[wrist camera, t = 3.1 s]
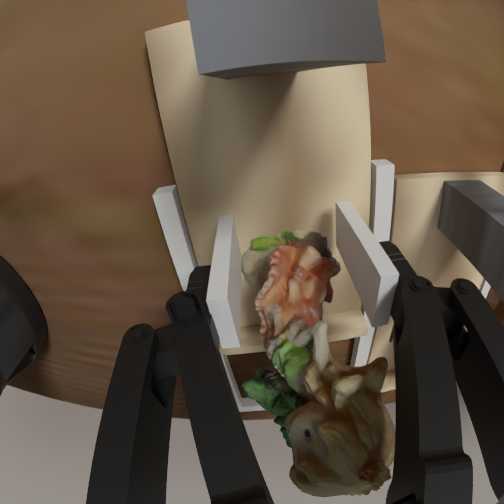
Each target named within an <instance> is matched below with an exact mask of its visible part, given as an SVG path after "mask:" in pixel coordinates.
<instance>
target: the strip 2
mask: <svg viewBox="0 0 504 504" xmlns="http://www.w3.org/2000/svg"><path fill="white" fill-rule="evenodd" d="M389 241H390V242H391V243H393V244H395V245H396V246H397V247H398V248H399V250H400V251H401V254H403V255H404V257H405V259H406V260H407V261H408V262H409V264H410V265H411V267H412V268H413V270H414V271H415V272H416V274H417V275H418V276H422V277H424V278H427V279H428V280H429V281H431V283H432V284H433V286H434V287H447V288H450V285H451V282H452V281H453V280H455V279H457V278H464V279H468V280H470V281H471V282H473V283H474V284H475V285H476V286H477V288H478V289H480V286H481V284H482V281H483V278H484V279H485V280H486V281H487V282H488V284H489V285H490V286H491V287H492V289H493V290H494V291H495V292H496V294H497V295H498V296H499V297H500V299H501V300H502V301H503V302H504V173H503V172H444V173H417V174H398V175H394V189H393V204H392V217H391V227H390V237H389ZM393 324H394V321H393V319H392V317H391V315H390V319H389V323H388V325H383V326H378V327H375V329H374V334H373V338H372V343H371V347H370V351H369V355H368V359H367V363H366V364H369V363H371V362H372V361H374V360H375V359H376V358H378V357H385V358H386V359H387V361H388V370H387V373H386V377H385V381H384V384H383V387H382V389H381V393H382V392H385V391H389V390H393V389H396V386H395V362H394V346H393V339H392V342H389V339H390V335H391V332H392V328H393Z"/></svg>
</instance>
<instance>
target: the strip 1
mask: <svg viewBox="0 0 504 504" xmlns="http://www.w3.org/2000/svg"><path fill="white" fill-rule="evenodd" d="M186 3H187V9H188V15H189V20H187V21H182V22H178V23H174V24H170V25H167V26H163V27H160V28H156V29H153V30H149V31H146V32H145V37H146V43H147V49H148V54H149V60H150V66H151V71H152V76H153V82H154V87H155V92H156V97H157V102H158V107H159V112H160V116H161V121H162V126H163V130H164V135H165V139H166V144H167V148H168V152H169V156H170V161H171V165H172V169H173V173H174V177H175V181H176V185H177V189H178V193H179V197H180V201H181V205H182V209H183V212H184V216H185V220H186V224H187V227H188V231H189V235H190V238H191V242H192V245H193V249H194V252H195V256H196V259H197V263H198V266H206V265H211V264H212V257H213V251H214V245H215V239H216V233H217V227H218V221H219V217H221V216H227V215H233V216H234V222H235V227H236V232H237V237H238V242H239V247H240V253H241V257H242V255H243V253H244V252H245V251H246V250H247V249H248V248H249V247H250V246H251V240H252V239H256V238H259V237H269V236H274V235H278V234H279V233H280V232H283V231H296V230H301V231H314V232H318V233H320V234H321V235H322V237H327V240H328V244H327V247H328V248H329V250H330V251H331V252H332V257H334V258H336V260H337V262H339V263H340V267H341V270H340V272H339V273H338V274H337V275H336V276H334V277H332V278H331V279H330V282H331V286H332V289H333V298H332V302H331V303H328V302H326V301H323V305H322V308H323V318H322V321H325V322H326V323H327V325H328V327H327V335H328V342H333V341H339V340H345V339H350V338H355V337H360V336H365V335H367V332H368V326H367V324H366V321H365V319H364V316H363V314H362V311H361V303H362V302H361V300H360V298H359V295H358V293H357V291H356V288H355V286H354V284H353V281H352V279H351V277H350V275H349V272H348V270H347V268H346V266H345V264H344V261H343V259H342V257H341V255H340V253H339V251H338V249H337V246H336V202H338V201H348V200H349V201H350V203H351V204H352V205H353V207H354V208H355V210H356V211H357V212H358V214H359V215H360V216H361V218H362V219H363V221H364V222H365V223H366V225H367V226H368V228H369V216H370V190H371V138H370V112H369V96H368V83H367V72H366V63H381V62H386V60H385V51H384V43H383V35H382V29H381V22H380V16H379V10H378V5H377V0H186ZM256 295H257V293H256V292H253V290H252V289H251V288H250V286H249V283H248V282H247V281H246V278H245V275H244V273H243V272H242V268H241V327H240V347H235V348H224V349H222V347H221V344H220V343H219V351H220V354H221V356H222V355H234V354H245V353H255V352H264V351H266V350H265V348H264V343H263V342H262V341H261V339H260V338H261V335H262V334H261V332H260V329H261V318H260V316H259V315H258V311H257V310H256V309H255V308H254V300H255V297H256Z"/></svg>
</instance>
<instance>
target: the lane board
mask: <svg viewBox="0 0 504 504" xmlns="http://www.w3.org/2000/svg"><path fill="white" fill-rule="evenodd" d="M394 166H395V165H394V164H392V163H391V162H389V161H388V160H386V159H382V160H371V190H370V216H369V229H370V230H371V232H372V233H373V235H374V236H375V238H376V239H377V241H378V242H382V241H389V237H390V227H391V217H392V204H393V189H394ZM503 173H504V169H503ZM152 196H153V199H154V203H155V206H156V209H157V213H158V216H159V219H160V223H161V226H162V229H163V232H164V235H165V239H166V242H167V245H168V248H169V251H170V254H171V257H172V260H173V263H174V266H175V269H176V272H177V274H178V277H179V280H180V283H181V286H182V289H183V291H186V289H187V285H188V280H189V276H190V273H191V272H192V271H193V270H194V268H195V267H198V263H197V259H196V256H195V252H194V249H193V245H192V242H191V238H190V235H189V231H188V227H187V224H186V220H185V216H184V212H183V209H182V205H181V201H180V197H179V193H178V189H177V185H171V186H166V187H161V188H157V190H156V191H155V193H154V194H153V195H152ZM490 287H491V286H490V285H489V284H488V282H487V281H486V280H485V279H484V278H483V281H482V284H481V286H480V289H479V290H480V292H481V293H482V295H483V296H484V297H485V299H486V297H487V294H488V292H489V289H490ZM361 311H362V314H363V316H364V319H365V321H366V324H367V326H368V332H367V335H365V336H360V337H355V340H354V346H353V352H352V358H351V363H350V366H353V367H360V366H364V365H366V363H367V359H368V355H369V351H370V347H371V343H372V338H373V334H374V329H375V327H373V328H372V326H371V324H370V321H369V319H368V317H367V314H366V312H365V309H364V307H363V305H362V303H361ZM221 357H222V360H223V363H224V367H225V370H226V373H227V376H228V379H229V382H230V385H231V388H232V391H233V394H234V397H235V400H236V403H237V406H238V409H239V412H246V411H258V410H265V409H264V408H263V407H261V406H260V405H259V404H258V403H257V402H256V400H254V399H250V398H249V397H247V398H242V397H241V394H240V392H239V389H238V386H237V383H236V380H235V378H234V375H233V372H232V369H231V366H230V363H229V360H228V358H227V355H222V356H221Z"/></svg>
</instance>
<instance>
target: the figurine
mask: <svg viewBox="0 0 504 504" xmlns="http://www.w3.org/2000/svg"><path fill="white" fill-rule="evenodd" d="M327 244H328V240H327V237H322V235H321V234H320V233H318V232H314V231H301V230H296V231H283V232H280V233H279V234H278V235H274V236H269V237H259V238H256V239H252V240H251V246H250V247H249V248H248V249H247V250H246V251H245V252H244V253H243V255H242V257H241V268H242V272H243V273H244V275H245V278H246V281H247V282H248V283H249V286H250V288H251V289H252V290H253V292H256V293H257V295H256V297H255V300H254V308H255V309H256V310H257V311H258V315H259V316H260V318H261V329H260V332H261V334H262V335H261V338H260V339H261V341H262V342H263V343H264V348H265V350H266V355H267V356H268V358H269V359H270V360H271V361H272V362H273V365H274V367H275V368H276V369H277V370H278V371H270V370H267V369H258V370H257V371H256V372H255V374H256V375H257V376H259V377H258V379H253V380H248V381H245V382H244V383H243V384H242V386H243V388H244V391H245V393H246V395H247V396H248V397H249V398H250V399H254V400H256V402H257V403H258V404H259V405H260V406H261V407H263V408H264V409H265V410H266V411H268V412H270V413H271V414H274V415H278V416H277V418H276V419H275V420H274V422H275V423H277V424H279V425H280V426H282V427H281V429H280V431H281V432H282V433H283V437H284V439H285V440H286V443H287V445H288V446H289V447H291V448H292V452H293V463H294V464H293V466H292V467H291V469H290V474H289V476H290V478H291V480H292V482H293V483H294V484H295V485H296V486H297V487H298V488H299V489H300V490H301V491H302V492H304V493H307V494H310V495H313V496H319V497H329V496H337V495H351V496H353V495H362V494H364V495H368V494H369V493H370V491H371V490H375V491H377V490H378V489H380V487H379V486H382V485H383V483H384V482H385V481H387V480H389V479H391V475H390V469H389V466H390V465H391V463H392V462H393V460H394V454H395V428H394V425H393V422H392V419H391V417H390V414H389V412H388V410H387V408H386V406H385V404H384V403H383V398H382V394H381V389H382V387H383V384H384V381H385V377H386V373H387V370H388V361H387V359H386V358H385V357H378V358H376V359H375V360H374V361H372V362H371V363H369V364H366V365H364V366H360V367H353V366H349V365H344V364H341V363H339V362H337V361H336V360H334V359H333V357H332V356H331V353H330V347H329V343H328V335H327V327H328V325H327V323H326V322H325V321H322V318H323V308H322V305H323V301H326V302H328V303H331V302H332V298H333V289H332V286H331V282H330V279H331V278H332V277H334V276H336V275H337V274H338V273H339V272H340V270H341V267H340V263H339V262H337V260H336V258H334V257H332V252H331V251H330V250H329V248H328V247H327Z"/></svg>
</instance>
